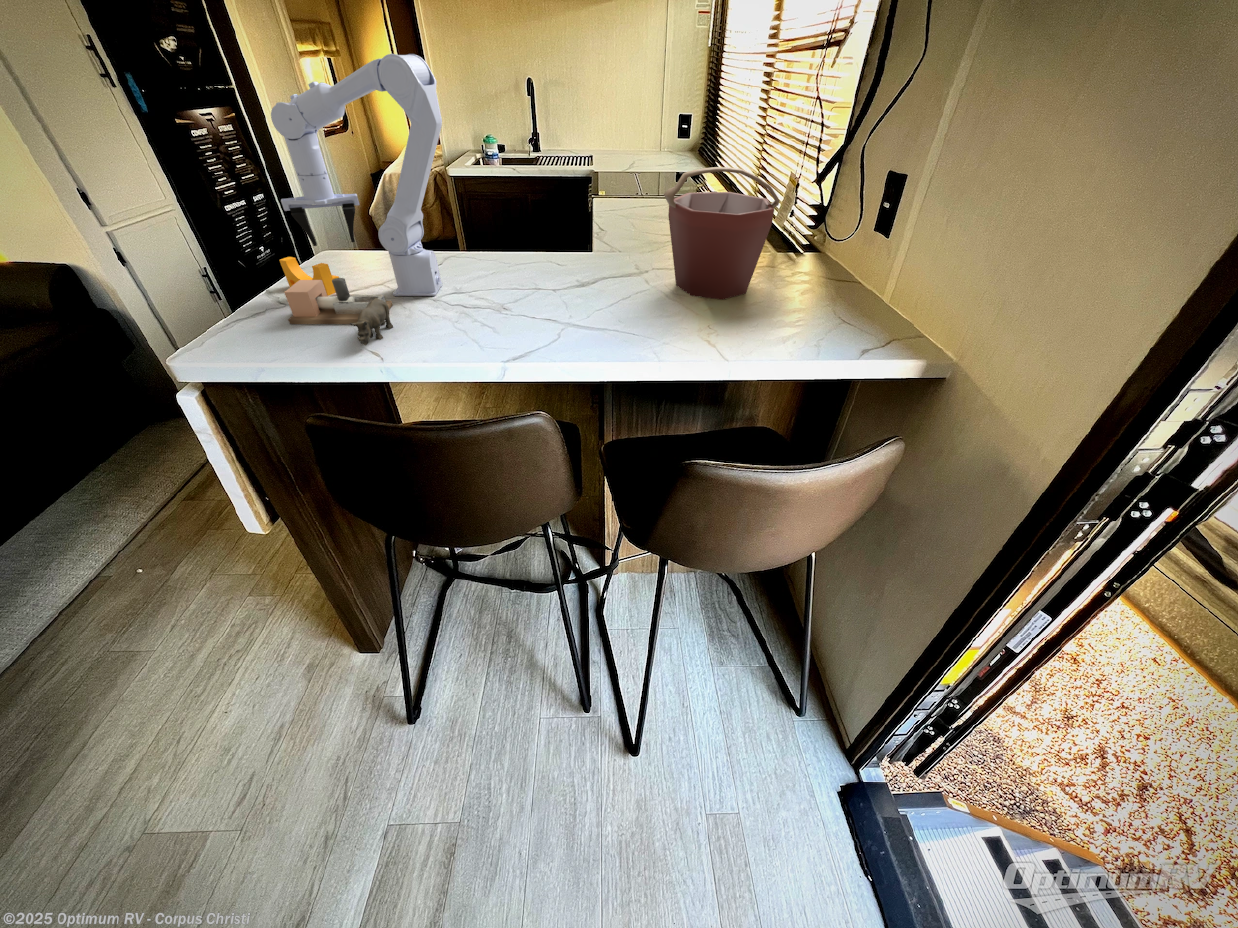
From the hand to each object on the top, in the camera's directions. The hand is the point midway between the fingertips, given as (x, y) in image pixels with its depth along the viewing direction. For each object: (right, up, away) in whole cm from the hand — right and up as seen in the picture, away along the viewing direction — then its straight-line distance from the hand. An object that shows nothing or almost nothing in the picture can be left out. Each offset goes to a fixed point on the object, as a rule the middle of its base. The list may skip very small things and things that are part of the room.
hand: (334, 243), depth 114 cm
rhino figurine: (+16, -25, -14) cm, 33 cm away
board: (+5, -18, -6) cm, 19 cm away
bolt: (+4, -17, -7) cm, 18 cm away
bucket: (+86, -6, +11) cm, 87 cm away
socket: (-1, -17, -7) cm, 18 cm away
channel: (+9, -17, -7) cm, 20 cm away
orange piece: (-7, -9, +6) cm, 13 cm away
